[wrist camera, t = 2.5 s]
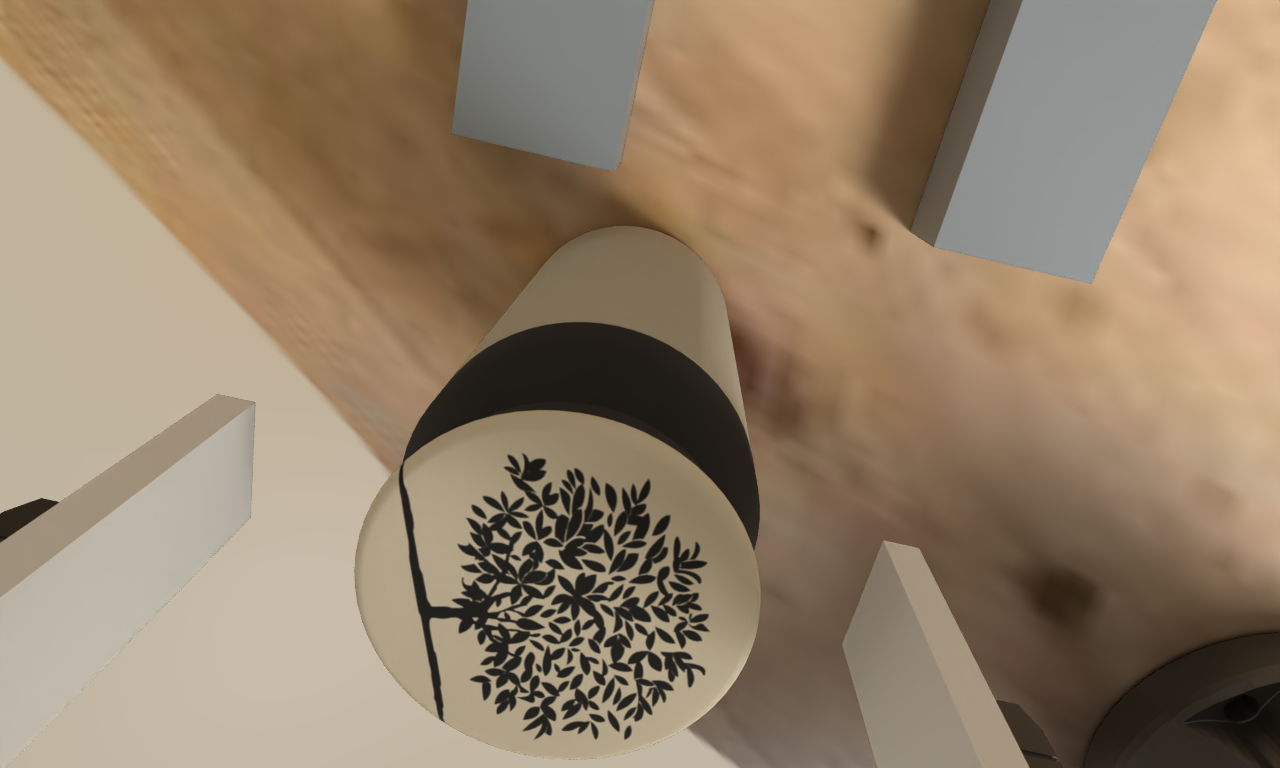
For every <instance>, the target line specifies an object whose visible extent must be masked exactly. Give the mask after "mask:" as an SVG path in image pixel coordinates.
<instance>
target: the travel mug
mask: <svg viewBox="0 0 1280 768" xmlns="http://www.w3.org/2000/svg"><path fill="white" fill-rule="evenodd" d="M759 520H760V503H759V494H758V486H757V480H756V475H755V469H754V463H753V458H752V452H751V446H750V440H749V435H748V429H747V423H746V418H745V412H744V406H743V400H742V395H741V389H740V383H739V378H738V372H737V366H736V361H735V355H734V349H733V343H732V338H731V332H730V326H729V321H728V315H727V310H726V305H725V301H724V297H723V294H722V291H721V289H720V287H719V285H718V282H717V281H716V279H715V277H714V275H713V274H712V272H711V271H710V269H709V268H708V267H707V265H706V264H705V263H704V262H703V261H702V260H701V258H700V257H699V256H698V255H696V254H695V253H694V252H693V251H692V250H691V249H689V248H688V247H687V246H686V245H684V244H683V243H681V242H679V241H678V240H676V239H674V238H672V237H670V236H668V235H666V234H664V233H661V232H658V231H655V230H652V229H648V228H643V227H637V226H612V227H605V228H600V229H596V230H593V231H590V232H587V233H584V234H582V235H580V236H578V237H576V238H574V239H573V240H571V241H569V242H568V243H566V244H565V245H563V246H562V247H561V248H559V249H558V250H557V251H556V252H555V253H554V254H553V255H552V256H551V257H550V258H549V259H548V260H547V261H546V262H545V264H544V265H543V266H542V267H541V269H540V270H539V271H538V272H537V274H536V275H535V276H534V277H533V278H532V280H531V281H530V282H529V283H528V285H527V286H526V287H525V288H524V290H523V291H522V292H521V293H520V295H519V296H518V297H517V298H516V300H515V301H514V302H513V303H512V304H511V306H510V307H509V308H508V309H507V311H506V312H505V313H504V314H503V316H502V317H501V318H500V319H499V321H498V322H497V323H496V324H495V325H494V327H493V328H492V329H491V330H490V332H489V333H488V334H487V335H486V337H485V338H484V339H483V340H482V342H481V343H480V344H479V345H478V346H477V348H476V349H475V350H474V351H473V353H472V354H471V355H470V356H469V358H468V359H467V360H466V361H465V363H464V364H463V365H462V366H461V367H460V369H459V370H458V371H457V372H456V374H455V375H454V376H453V377H452V379H451V380H450V381H449V382H448V384H447V385H446V386H445V387H444V388H443V390H442V391H441V392H440V393H439V395H438V396H437V397H436V398H435V400H434V401H433V402H432V403H431V405H430V406H429V407H428V409H427V410H426V412H425V413H424V414H423V416H422V417H421V419H420V420H419V422H418V424H417V426H416V428H415V430H414V431H413V433H412V436H411V438H410V441H409V443H408V446H407V448H406V452H405V456H404V459H403V463H402V465H401V466H400V467H399V468H398V469H397V470H396V471H395V472H394V473H393V474H392V475H391V476H390V478H389V479H388V480H387V481H386V483H385V484H384V485H383V486H382V488H381V489H380V491H379V493H378V494H377V496H376V498H375V499H374V501H373V502H372V504H371V507H370V509H369V511H368V513H367V515H366V518H365V520H364V523H363V526H362V529H361V532H360V535H359V540H358V545H357V550H356V558H355V589H356V596H357V602H358V607H359V611H360V614H361V618H362V622H363V624H364V627H365V629H366V632H367V635H368V637H369V639H370V641H371V643H372V645H373V647H374V649H375V651H376V653H377V654H378V656H379V658H380V659H381V661H382V662H383V664H384V666H385V667H386V668H387V670H388V671H389V672H390V673H391V675H392V676H393V677H394V679H395V680H396V681H397V682H398V683H399V684H400V685H401V687H403V689H404V690H405V691H406V692H407V693H408V694H409V695H410V696H411V697H412V698H413V699H414V700H415V701H417V702H418V703H419V704H420V705H421V706H423V707H424V708H425V709H426V710H427V711H429V712H430V713H431V714H433V715H434V716H435V717H437V718H439V719H440V720H441V721H443V722H445V723H446V724H448V725H449V726H451V727H453V728H455V729H456V730H458V731H460V732H462V733H464V734H466V735H468V736H470V737H472V738H475V739H477V740H479V741H481V742H484V743H487V744H489V745H492V746H495V747H498V748H501V749H504V750H508V751H512V752H515V753H520V754H525V755H530V756H535V757H543V758H551V759H593V758H602V757H609V756H615V755H620V754H625V753H628V752H632V751H636V750H639V749H642V748H645V747H648V746H650V745H653V744H656V743H658V742H660V741H663V740H665V739H667V738H669V737H671V736H673V735H675V734H676V733H678V732H680V731H682V730H683V729H685V728H687V727H688V726H690V725H691V724H693V723H694V722H695V721H697V720H698V719H700V718H701V717H702V716H703V715H704V714H706V713H707V712H708V711H709V710H710V709H711V708H712V707H714V706H715V705H716V703H717V702H718V701H719V700H720V699H721V698H722V697H723V696H724V695H725V694H726V692H727V691H728V690H729V688H730V687H731V686H732V684H733V683H734V682H735V680H736V679H737V677H738V676H739V674H740V672H741V670H742V669H743V667H744V665H745V663H746V661H747V659H748V656H749V654H750V652H751V650H752V646H753V643H754V640H755V637H756V634H757V629H758V623H759V618H760V606H761V589H760V577H759V571H758V565H757V561H756V557H755V554H754V549H755V545H756V541H757V536H758V529H759Z"/></svg>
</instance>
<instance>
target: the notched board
mask: <svg viewBox="0 0 1280 768" xmlns="http://www.w3.org/2000/svg"><path fill="white" fill-rule="evenodd" d="M1216 1H1217V0H990V3H989V6H988V9H987V11H986V14H985V17H984V20H983V23H982V26H981V29H980V32H979V34H978V37H977V40H976V43H975V46H974V49H973V52H972V55H971V58H970V60H969V63H968V66H967V69H966V72H965V75H964V78H963V81H962V83H961V86H960V89H959V92H958V95H957V98H956V101H955V104H954V107H953V109H952V112H951V115H950V118H949V121H948V124H947V127H946V130H945V132H944V135H943V138H942V141H941V144H940V147H939V150H938V153H937V156H936V158H935V161H934V164H933V167H932V170H931V173H930V176H929V179H928V181H927V184H926V187H925V190H924V193H923V196H922V199H921V202H920V205H919V207H918V210H917V213H916V216H915V219H914V222H913V225H912V228H911V230H910V232H911V233H913V234H914V235H916V236H917V237H919V238H920V239H922V240H924V241H925V242H927V243H928V244H930V245H931V246H933V247H935V248H939V249H944V250H948V251H952V252H957V253H961V254H965V255H969V256H974V257H978V258H982V259H986V260H991V261H995V262H999V263H1003V264H1008V265H1012V266H1016V267H1020V268H1025V269H1029V270H1033V271H1037V272H1042V273H1046V274H1050V275H1054V276H1059V277H1063V278H1067V279H1072V280H1076V281H1080V282H1084V283H1089V284H1092V282H1093V279H1094V277H1095V275H1096V273H1097V270H1098V268H1099V266H1100V263H1101V261H1102V259H1103V257H1104V254H1105V252H1106V250H1107V248H1108V245H1109V243H1110V241H1111V239H1112V236H1113V234H1114V232H1115V230H1116V227H1117V225H1118V223H1119V220H1120V218H1121V216H1122V214H1123V211H1124V209H1125V207H1126V205H1127V202H1128V200H1129V198H1130V196H1131V193H1132V191H1133V189H1134V187H1135V184H1136V182H1137V180H1138V178H1139V175H1140V173H1141V171H1142V168H1143V166H1144V164H1145V162H1146V159H1147V157H1148V155H1149V153H1150V150H1151V148H1152V146H1153V144H1154V141H1155V139H1156V137H1157V135H1158V132H1159V130H1160V128H1161V126H1162V123H1163V121H1164V119H1165V116H1166V114H1167V112H1168V110H1169V107H1170V105H1171V103H1172V101H1173V98H1174V96H1175V94H1176V92H1177V89H1178V87H1179V85H1180V83H1181V80H1182V78H1183V76H1184V73H1185V71H1186V69H1187V67H1188V64H1189V62H1190V60H1191V58H1192V55H1193V53H1194V51H1195V49H1196V46H1197V44H1198V42H1199V40H1200V37H1201V35H1202V33H1203V31H1204V28H1205V26H1206V24H1207V21H1208V19H1209V17H1210V15H1211V12H1212V10H1213V8H1214V6H1215V3H1216ZM653 5H654V0H468V4H467V12H466V19H465V27H464V35H463V43H462V51H461V59H460V66H459V74H458V82H457V90H456V98H455V106H454V114H453V121H452V129H451V134H454V135H458V136H462V137H467V138H471V139H475V140H479V141H484V142H488V143H492V144H496V145H501V146H505V147H509V148H513V149H518V150H522V151H526V152H530V153H535V154H539V155H543V156H548V157H552V158H556V159H560V160H565V161H569V162H573V163H577V164H582V165H586V166H590V167H594V168H599V169H603V170H607V171H611V172H614V171H615V170H616V169H617V167H618V166H619V165H620V164H621V160H622V155H623V150H624V146H625V141H626V136H627V131H628V126H629V121H630V116H631V112H632V107H633V102H634V97H635V92H636V87H637V82H638V78H639V73H640V68H641V63H642V58H643V53H644V48H645V44H646V39H647V34H648V29H649V24H650V19H651V14H652V10H653Z"/></svg>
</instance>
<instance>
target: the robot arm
mask: <svg viewBox="0 0 1280 768" xmlns="http://www.w3.org/2000/svg"><path fill="white" fill-rule="evenodd" d="M254 423H255V402H252V401H246V400H242V399H238V398H233V397H229V396H224V395H219V394H217V395H216V396H214V397H213V398H211V399H210V400H209V401H207V402H205V403H204V404H202V405H201V406H199V407H198V408H197V409H195V410H194V411H192V412H191V413H189V414H188V415H186V416H185V417H183V418H182V419H181V420H179V421H178V422H176V423H175V424H173V425H172V426H170V427H169V428H167V429H166V430H164V431H163V432H162V433H160V434H159V435H157V436H156V437H154V438H153V439H152V440H150V441H148V442H147V443H146V444H144V445H143V446H141V447H140V448H138V449H137V450H135V451H134V452H132V453H131V454H129V455H128V456H126V457H125V458H124V459H122V460H121V461H119V462H118V463H116V464H115V465H113V466H112V467H110V468H109V469H107V470H106V471H105V472H103V473H102V474H100V475H99V476H97V477H96V478H94V479H93V480H91V481H90V482H89V483H87V484H86V485H84V486H83V487H81V488H80V489H78V490H77V491H75V492H74V493H73V494H71V495H70V496H68V497H67V498H65V499H64V500H62V501H61V502H57V501H52V500H47V499H43V498H40V499H38V500H35V501H32V502H29V503H27V504H24V505H21V506H18V507H15V508H13V509H10V510H7V511H4V512H2V513H1V514H0V768H7V766H9V765H10V764H11V763H12V761H13V760H14V759H15V758H16V757H17V756H18V755H19V754H20V753H21V752H22V751H23V750H24V749H25V748H26V747H27V746H28V745H29V744H30V743H31V742H32V741H33V740H34V739H35V738H36V737H37V736H38V735H39V734H40V733H41V732H42V731H43V730H44V729H45V728H46V727H47V726H48V724H50V722H52V720H54V719H55V718H56V717H57V715H58V714H59V713H60V712H61V711H62V710H63V709H64V708H65V707H66V706H67V705H68V704H69V703H70V702H71V701H72V700H73V699H74V698H75V697H76V696H77V695H78V694H79V693H80V692H81V691H82V690H83V689H84V688H85V687H86V686H87V685H88V684H89V683H90V682H91V681H92V680H93V678H95V676H96V675H98V673H99V672H100V671H101V670H102V669H103V668H104V667H105V666H106V665H107V664H108V663H109V662H110V661H111V660H112V659H113V658H114V657H115V656H116V655H117V654H118V653H119V652H120V651H121V650H122V649H123V648H124V647H125V646H126V645H127V644H128V643H129V642H130V641H131V639H133V637H134V636H136V635H137V634H138V632H139V631H140V630H141V629H142V628H143V627H144V626H145V625H146V624H147V623H148V622H149V621H150V620H151V619H152V618H153V617H154V616H155V615H156V614H157V613H158V612H159V611H160V610H161V609H162V608H163V607H164V606H165V605H166V604H167V603H168V602H169V601H170V600H171V598H173V597H174V596H175V595H176V594H177V592H178V591H180V589H181V588H182V587H183V586H184V585H185V584H186V583H187V582H188V581H189V580H190V579H191V578H192V577H193V576H194V575H195V574H196V573H197V572H198V571H199V570H200V569H201V568H202V567H203V566H204V565H205V564H206V563H207V562H208V561H209V560H210V558H212V556H214V555H215V554H216V552H218V551H219V550H220V548H221V547H222V546H223V545H224V544H225V543H226V542H227V541H228V540H229V539H230V538H231V537H232V536H233V535H234V534H235V533H236V532H237V531H238V530H239V529H240V528H241V527H242V526H243V525H244V524H245V523H246V522H247V521H248V520H249V519H250V518H251V498H252V497H251V496H252V473H253V448H254ZM842 646H843V649H844V653H845V657H846V660H847V664H848V667H849V671H850V674H851V678H852V681H853V685H854V688H855V692H856V695H857V699H858V703H859V706H860V710H861V713H862V717H863V720H864V724H865V727H866V731H867V734H868V738H869V741H870V745H871V749H872V752H873V756H874V759H875V763H876V766H877V768H1063V767H1062V765H1061V763H1060V762H1057V756H1056V754H1055V752H1054V751H1053V749H1052V747H1051V745H1050V743H1049V741H1048V740H1047V738H1046V736H1045V734H1044V732H1043V731H1042V729H1041V728H1040V727H1039V726H1038V725H1037V724H1036V723H1035V722H1034V721H1033V720H1032V719H1031V718H1030V717H1029V716H1028V715H1027V714H1026V713H1025V711H1024V710H1023V709H1022V708H1021V707H1020V706H1019V705H1017V704H1013V703H1008V702H1003V701H999V700H995V698H994V696H993V694H992V692H991V690H990V688H989V686H988V684H987V682H986V680H985V678H984V676H983V674H982V672H981V670H980V668H979V666H978V664H977V662H976V661H975V659H974V657H973V655H972V653H971V651H970V649H969V647H968V645H967V643H966V641H965V639H964V637H963V635H962V633H961V631H960V629H959V627H958V625H957V623H956V621H955V619H954V617H953V615H952V613H951V611H950V609H949V607H948V605H947V603H946V601H945V599H944V597H943V595H942V593H941V591H940V589H939V587H938V585H937V583H936V581H935V579H934V577H933V575H932V573H931V571H930V569H929V567H928V565H927V563H926V561H925V559H924V557H923V555H922V553H921V551H920V549H919V548H916V547H912V546H907V545H903V544H898V543H894V542H889V541H884V540H883V542H882V545H881V547H880V550H879V552H878V555H877V557H876V560H875V563H874V565H873V568H872V570H871V573H870V575H869V578H868V580H867V583H866V585H865V588H864V590H863V593H862V595H861V598H860V600H859V603H858V605H857V608H856V611H855V613H854V616H853V618H852V621H851V623H850V626H849V628H848V631H847V633H846V636H845V638H844V641H843V643H842ZM1084 768H1280V633H1269V634H1260V635H1253V636H1247V637H1242V638H1238V639H1233V640H1229V641H1225V642H1222V643H1218V644H1215V645H1212V646H1209V647H1206V648H1203V649H1201V650H1198V651H1196V652H1193V653H1191V654H1188V655H1186V656H1184V657H1182V658H1180V659H1178V660H1176V661H1174V662H1172V663H1170V664H1168V665H1166V666H1165V667H1163V668H1161V669H1160V670H1158V671H1157V672H1155V673H1153V674H1152V675H1151V676H1149V677H1148V678H1146V679H1145V680H1143V681H1142V682H1141V683H1140V684H1138V685H1137V686H1136V687H1134V688H1133V689H1132V690H1131V691H1130V692H1129V693H1128V694H1127V695H1125V696H1124V697H1123V698H1122V699H1121V700H1120V701H1119V703H1118V704H1117V705H1116V706H1115V707H1114V708H1113V709H1112V710H1111V712H1110V713H1109V714H1108V715H1107V717H1106V718H1105V719H1104V721H1103V722H1102V724H1101V725H1100V727H1099V729H1098V730H1097V732H1096V734H1095V736H1094V738H1093V740H1092V742H1091V744H1090V747H1089V749H1088V753H1087V756H1086V759H1085V764H1084Z"/></svg>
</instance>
